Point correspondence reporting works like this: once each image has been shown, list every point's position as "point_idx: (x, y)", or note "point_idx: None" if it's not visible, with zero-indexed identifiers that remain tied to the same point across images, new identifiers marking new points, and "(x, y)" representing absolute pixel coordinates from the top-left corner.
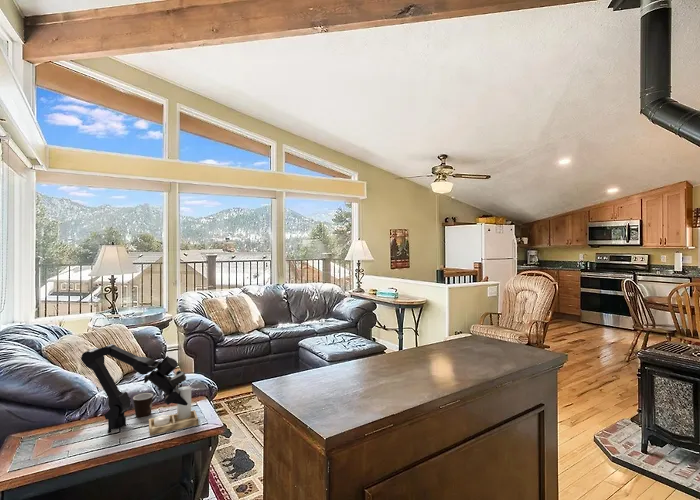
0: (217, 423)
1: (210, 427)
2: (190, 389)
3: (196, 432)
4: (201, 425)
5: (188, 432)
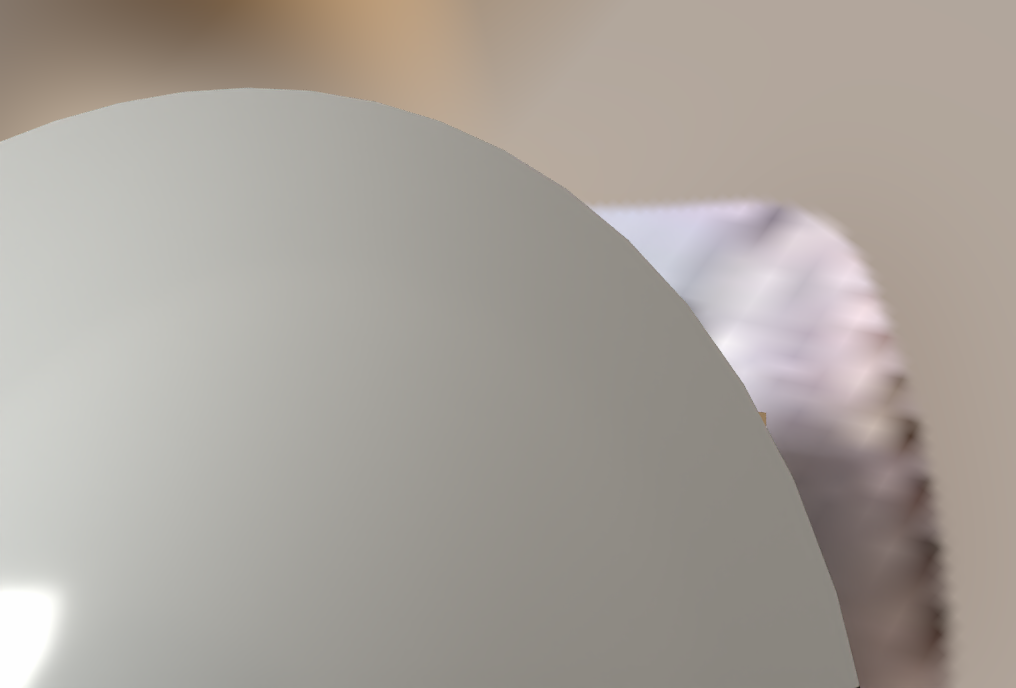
0: (756, 207)
1: (841, 305)
2: (538, 202)
3: (925, 515)
4: None
5: (863, 627)
